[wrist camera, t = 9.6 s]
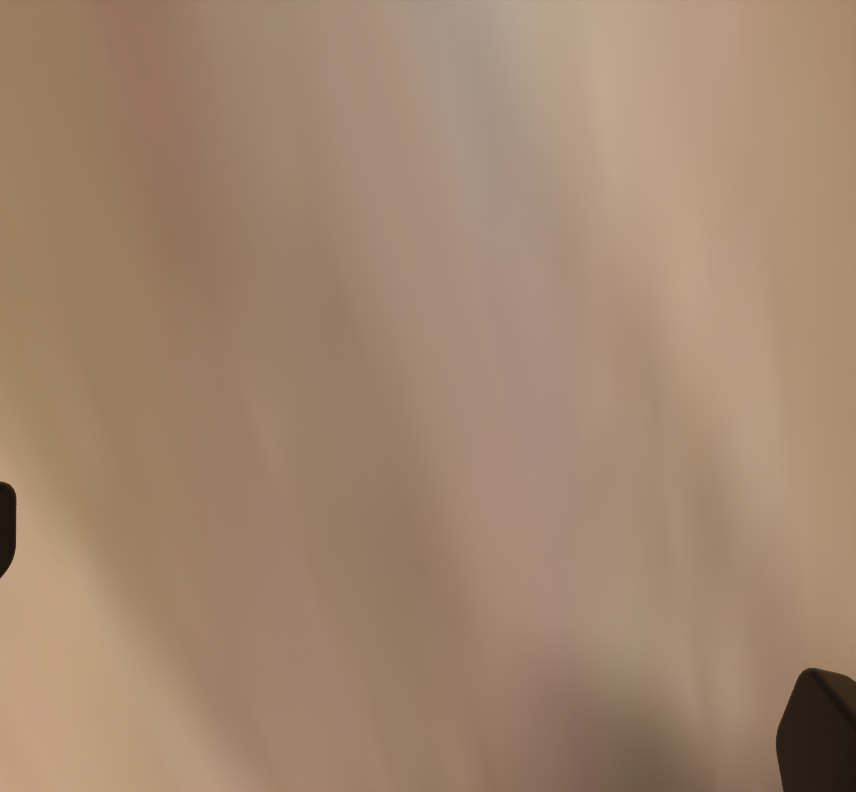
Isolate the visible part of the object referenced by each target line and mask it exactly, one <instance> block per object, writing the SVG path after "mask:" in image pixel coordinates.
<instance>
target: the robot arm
mask: <svg viewBox="0 0 856 792" xmlns="http://www.w3.org/2000/svg"><path fill="white" fill-rule="evenodd" d="M15 548H16V493H15V491H14V489H13V488H12V486H11V485H10V484H8V483H5V482H1V481H0V578H1V577H2V576H3V575H4V573H5V572H6V571H7V569H8V568H9V566H10V564H11V562H12V560H13V557H14V554H15ZM776 751H777V758H778V763H779V769H780V775H781V780H782V786H783V791H784V792H856V682H855V681H854V680H852V679H851V678H849V677H848V676H845V675H843V674H839V673H835V672H830V671H826V670H822V669H817V668H808V669H806V670H804V671H803V672H802V673H801V674H800V675H799V677H798V679H797V681H796V684H795V686H794V689H793V691H792V694H791V696H790V699H789V701H788V704H787V706H786V709H785V711H784V714H783V717H782V719H781V722H780V724H779V727H778V731H777V736H776Z"/></svg>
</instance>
